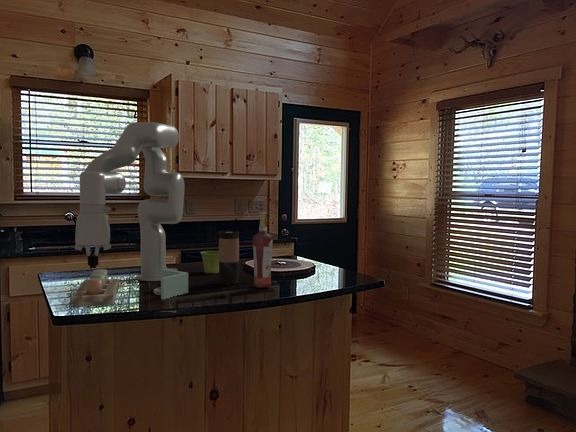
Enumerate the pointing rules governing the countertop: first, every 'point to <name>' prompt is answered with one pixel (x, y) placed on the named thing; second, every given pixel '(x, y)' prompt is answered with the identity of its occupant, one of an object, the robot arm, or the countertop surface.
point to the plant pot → (211, 261)
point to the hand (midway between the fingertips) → (93, 267)
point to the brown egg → (94, 286)
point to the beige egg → (101, 271)
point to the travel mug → (228, 257)
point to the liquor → (262, 254)
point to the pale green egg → (99, 277)
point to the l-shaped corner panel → (172, 284)
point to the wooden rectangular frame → (93, 300)
